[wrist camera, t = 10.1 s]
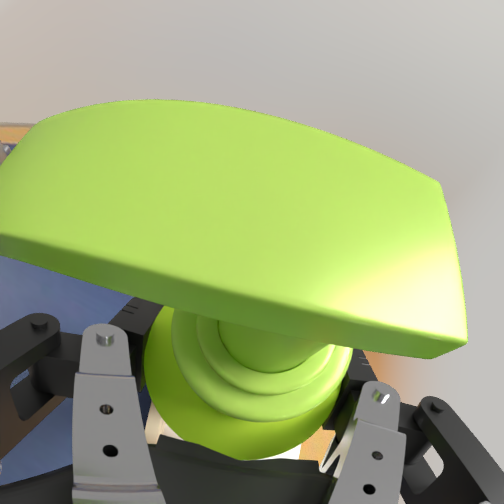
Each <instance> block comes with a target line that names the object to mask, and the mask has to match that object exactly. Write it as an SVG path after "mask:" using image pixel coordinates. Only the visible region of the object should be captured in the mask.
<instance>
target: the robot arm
mask: <svg viewBox="0 0 504 504" xmlns="http://www.w3.org/2000/svg"><path fill="white" fill-rule="evenodd" d="M10 153H11V150H10V148H9V146H8V145H2V143H1V141H0V165H1V164H2V163H3V161H4V160H5V159H6V158H7V156H8V155H9V154H10ZM163 307H164V305H161V304H157V303H154V302H150V301H147V300H144V299H140V298H137V297H135V298H132V299H131V300H130V301H129V302H128V303H127V304H126V306H124V307H123V308H122V310H120V311H119V313H118V314H117V315H116V316H115V317H114V318H113V319H112V320H111V321H110V322H109V323H108V324H95V325H92V326H89V327H88V328H86V329H85V330H84V332H83V335H77V334H71V333H65V332H60V323H59V321H58V320H57V319H56V318H55V317H53V316H51V315H49V314H44V313H34V314H30V315H27V316H25V317H23V318H21V319H20V320H18V321H16V322H14V323H12V324H10V325H9V326H7V327H5V328H3V329H1V330H0V473H1V469H2V465H1V459H2V458H3V457H4V456H5V455H6V454H7V453H8V452H9V451H10V450H12V449H13V448H14V447H15V446H16V445H17V444H18V443H19V442H20V441H21V440H22V439H23V438H24V437H25V436H26V435H27V434H28V433H29V432H30V431H31V430H33V429H34V428H35V427H36V426H37V425H38V424H39V423H40V422H41V421H42V420H43V419H44V418H45V417H46V416H47V415H48V414H50V413H51V412H52V411H53V410H54V409H55V408H56V407H57V406H58V405H59V404H60V403H61V402H62V401H63V400H64V399H65V398H66V397H68V398H73V421H72V452H73V464H71V465H68V466H65V467H62V468H60V469H57V470H54V471H50V472H47V473H44V474H41V475H38V476H34V477H31V478H28V479H24V480H20V481H17V482H13V483H9V484H5V485H1V486H0V504H398V500H399V494H401V496H402V498H403V499H404V501H405V503H406V504H504V472H503V471H502V470H501V468H500V467H499V466H498V464H497V463H496V462H495V461H494V459H493V458H492V457H491V456H490V454H489V453H488V452H487V450H486V449H485V448H484V447H483V446H482V444H481V443H480V442H479V441H478V439H477V438H476V437H475V436H474V435H473V433H472V432H471V431H470V430H469V428H468V427H467V426H466V425H465V424H464V422H463V421H462V420H461V419H460V418H459V416H458V415H457V414H456V413H455V412H454V411H453V409H452V408H451V407H450V406H449V405H448V404H447V403H446V402H445V401H443V400H441V399H439V398H437V397H433V396H427V397H424V398H423V399H422V400H421V402H420V403H419V405H418V406H417V407H416V406H413V405H409V404H405V403H402V402H400V396H399V394H398V393H397V391H396V390H395V389H394V388H392V387H391V386H389V385H387V384H385V383H383V382H379V381H378V380H377V378H376V376H375V374H374V372H373V370H372V368H371V366H370V365H369V362H368V360H367V359H366V356H365V355H364V353H363V351H362V350H360V349H354V348H353V353H352V357H351V361H350V364H349V367H348V369H347V371H346V373H345V375H344V377H343V379H342V383H341V388H340V391H339V395H338V398H337V400H336V403H335V405H334V407H333V409H332V411H331V413H330V414H329V416H328V417H327V419H326V420H325V422H324V423H323V424H322V427H323V430H335V433H336V434H335V435H334V437H333V438H332V440H331V442H330V444H329V447H328V449H327V451H326V454H325V456H324V458H323V460H322V463H321V465H320V467H319V464H318V461H314V460H299V459H287V458H275V459H262V460H237V459H234V458H232V457H229V456H227V455H224V454H221V453H219V452H217V451H214V450H212V449H209V448H207V447H205V446H202V445H200V444H196V443H192V442H188V441H184V440H180V439H176V438H173V437H169V436H166V435H162V434H160V435H159V438H158V441H157V444H147V440H146V436H145V431H144V426H143V421H142V416H141V411H140V406H139V400H138V394H137V392H140V393H141V391H142V389H143V387H144V385H145V383H146V380H145V373H144V354H145V348H146V344H147V341H148V337H149V334H150V331H151V328H152V325H153V323H154V321H155V319H156V317H157V315H158V314H159V312H160V311H161V309H162V308H163ZM26 369H28V371H29V375H28V376H27V377H26V378H24V379H23V380H22V381H20V382H19V383H18V384H16V385H15V386H14V387H12V388H11V389H10V385H11V383H12V381H13V379H14V378H15V377H17V376H18V375H19V374H21V373H22V372H23V371H25V370H26ZM432 445H433V447H434V448H435V450H436V451H437V453H438V454H439V456H440V457H441V459H442V460H443V463H444V469H443V472H442V473H441V475H440V476H438V478H436V476H435V474H434V473H433V471H432V470H431V468H430V467H429V465H428V463H427V462H426V460H425V459H424V457H423V455H424V454H425V453H426V452H427V450H428V449H429V448H430V447H431V446H432Z"/></svg>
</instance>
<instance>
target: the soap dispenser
mask: <svg viewBox="0 0 504 504" xmlns="http://www.w3.org/2000/svg"><path fill="white" fill-rule="evenodd" d="M0 255H1V256H4V257H8V258H12V259H15V260H19V261H22V262H26V263H29V264H32V265H35V266H39V267H42V268H45V269H48V270H51V271H54V272H57V273H60V274H64V275H67V276H70V277H73V278H76V279H79V280H82V281H85V282H89V283H92V284H95V285H98V286H101V287H104V288H108V289H111V290H114V291H117V292H120V293H124V294H127V295H130V296H134V297H137V298H140V299H144V300H147V301H150V302H154V303H157V304H161V305H164V307H163V308H162V309H161V311H160V312H159V314H158V315H157V317H156V319H155V321H154V323H153V325H152V328H151V331H150V334H149V337H148V341H147V344H146V348H145V354H144V373H145V380H146V384H147V388H148V391H149V394H150V397H151V400H152V402H153V404H154V406H155V408H156V410H157V411H158V413H159V414H160V416H161V417H162V419H163V420H164V421H165V423H166V424H167V425H168V426H169V427H170V428H171V429H172V430H173V431H174V432H175V433H176V434H177V435H178V436H179V437H180V438H182V439H183V440H184V441H188V442H192V443H196V444H200V445H202V446H205V447H207V448H209V449H212V450H214V451H217V452H219V453H221V454H224V455H227V456H229V457H232V458H234V459H237V460H258V459H264V458H269V457H273V456H276V455H279V454H282V453H284V452H287V451H289V450H291V449H293V448H295V447H297V446H298V445H300V444H301V443H303V442H304V441H306V440H307V439H308V438H309V437H311V436H312V435H313V434H314V433H315V432H316V431H317V430H318V429H319V428H320V427H321V425H322V424H323V423H324V422H325V420H326V419H327V417H328V416H329V414H330V413H331V411H332V409H333V407H334V405H335V403H336V400H337V398H338V395H339V391H340V388H341V383H342V379H343V377H344V375H345V373H346V371H347V369H348V367H349V364H350V361H351V357H352V353H353V348H354V349H360V350H366V351H372V352H379V353H386V354H393V355H400V356H407V357H414V358H422V359H433V358H436V357H438V356H441V355H443V354H445V353H448V352H450V351H453V350H455V349H457V348H459V347H462V346H464V345H465V344H467V342H468V331H467V317H466V307H465V299H464V291H463V283H462V276H461V270H460V264H459V259H458V254H457V248H456V243H455V239H454V234H453V230H452V225H451V221H450V217H449V213H448V210H447V206H446V202H445V199H444V195H443V192H442V188H441V185H440V183H439V182H437V181H436V180H434V179H432V178H430V177H428V176H427V175H425V174H423V173H420V172H419V171H417V170H415V169H413V168H411V167H409V166H407V165H405V164H403V163H401V162H399V161H396V160H394V159H392V158H390V157H388V156H385V155H383V154H381V153H379V152H376V151H374V150H372V149H369V148H367V147H365V146H362V145H360V144H357V143H355V142H352V141H349V140H347V139H344V138H342V137H339V136H336V135H334V134H331V133H328V132H325V131H322V130H319V129H316V128H313V127H310V126H307V125H304V124H300V123H297V122H294V121H290V120H287V119H283V118H280V117H276V116H272V115H268V114H264V113H259V112H255V111H251V110H246V109H241V108H236V107H230V106H224V105H218V104H211V103H203V102H194V101H182V100H159V99H153V100H151V99H149V100H126V101H117V102H108V103H102V104H95V105H90V106H86V107H82V108H77V109H73V110H70V111H66V112H63V113H60V114H57V115H54V116H51V117H49V118H46V119H44V120H42V121H40V122H38V123H37V124H35V125H34V126H33V127H32V128H31V129H30V130H29V131H28V133H27V134H26V135H25V136H24V137H23V138H22V139H21V141H20V142H19V143H18V144H17V145H16V146H15V148H14V149H13V150H12V151H11V153H10V154H9V155H8V156H7V158H6V159H5V160H4V161H3V163H2V164H1V165H0Z"/></svg>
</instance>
